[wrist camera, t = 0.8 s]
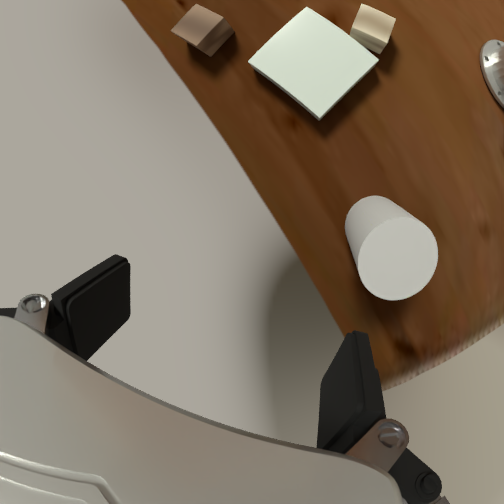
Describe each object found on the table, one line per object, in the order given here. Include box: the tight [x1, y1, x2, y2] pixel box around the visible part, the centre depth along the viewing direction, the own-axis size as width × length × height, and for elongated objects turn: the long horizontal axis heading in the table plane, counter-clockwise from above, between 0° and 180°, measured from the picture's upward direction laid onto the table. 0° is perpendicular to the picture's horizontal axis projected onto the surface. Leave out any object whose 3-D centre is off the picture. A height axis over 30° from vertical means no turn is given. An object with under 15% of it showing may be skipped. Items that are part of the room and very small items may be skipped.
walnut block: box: [171, 4, 235, 57], centre depth 27 cm, size 5×5×5 cm
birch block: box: [350, 4, 396, 54], centre depth 23 cm, size 4×4×4 cm
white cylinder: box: [345, 196, 438, 300], centre depth 28 cm, size 8×8×12 cm
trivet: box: [248, 7, 379, 121], centre depth 27 cm, size 11×11×3 cm
